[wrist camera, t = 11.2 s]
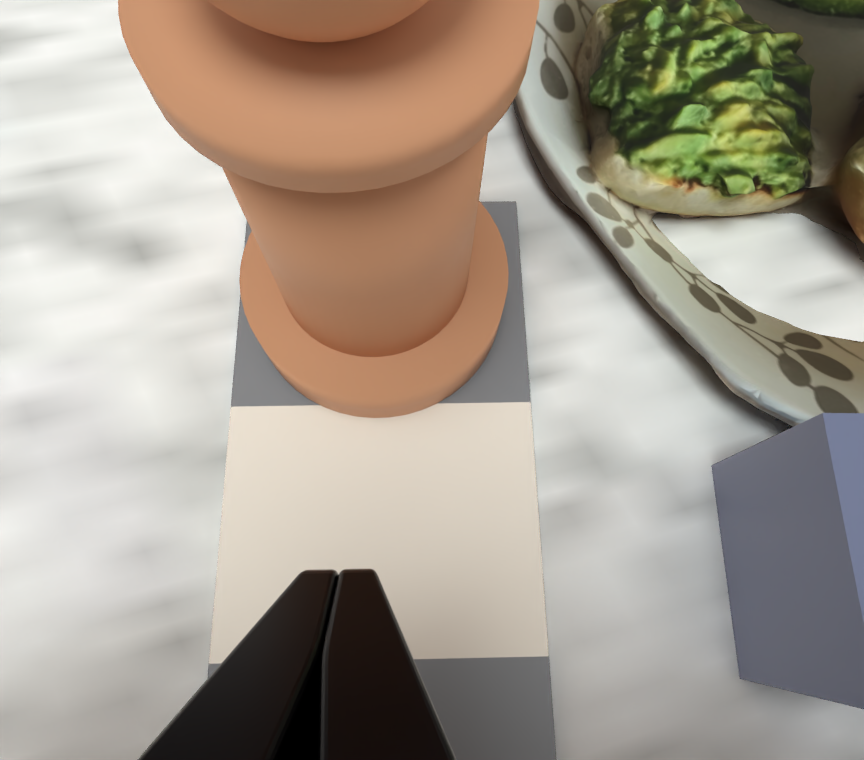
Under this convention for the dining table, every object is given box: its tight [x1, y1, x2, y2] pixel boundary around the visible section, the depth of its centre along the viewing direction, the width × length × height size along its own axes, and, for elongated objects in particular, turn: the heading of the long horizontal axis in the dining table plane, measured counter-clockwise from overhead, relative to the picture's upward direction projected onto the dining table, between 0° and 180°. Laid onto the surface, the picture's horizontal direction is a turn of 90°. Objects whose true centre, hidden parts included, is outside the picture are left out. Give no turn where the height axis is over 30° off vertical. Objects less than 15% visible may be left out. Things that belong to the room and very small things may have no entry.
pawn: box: [118, 0, 539, 418], centre depth 10 cm, size 6×6×12 cm
